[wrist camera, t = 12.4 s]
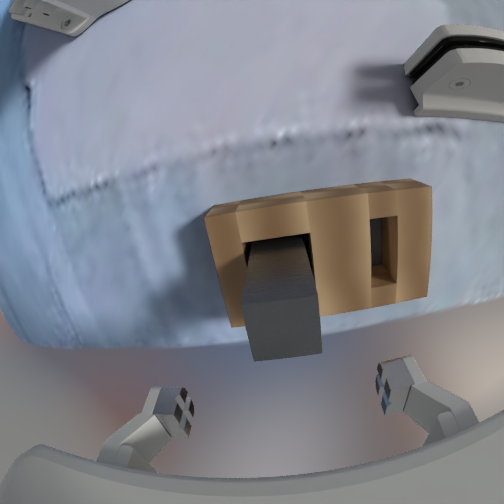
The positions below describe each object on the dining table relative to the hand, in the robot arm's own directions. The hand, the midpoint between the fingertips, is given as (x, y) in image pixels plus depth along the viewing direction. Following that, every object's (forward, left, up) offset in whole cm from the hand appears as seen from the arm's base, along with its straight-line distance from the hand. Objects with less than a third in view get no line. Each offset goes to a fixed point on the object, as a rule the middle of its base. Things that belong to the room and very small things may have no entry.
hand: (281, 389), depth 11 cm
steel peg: (0, 0, -17) cm, 17 cm away
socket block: (+4, +2, -17) cm, 17 cm away
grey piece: (+11, +24, -17) cm, 31 cm away
